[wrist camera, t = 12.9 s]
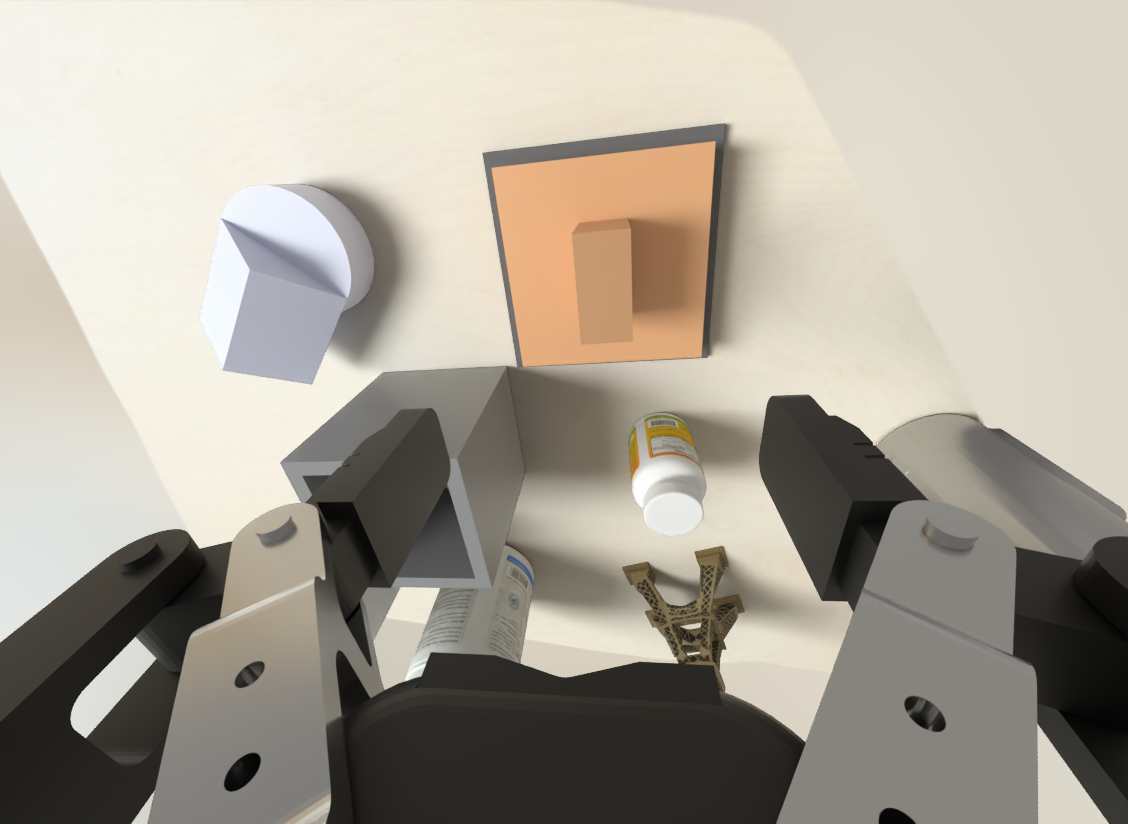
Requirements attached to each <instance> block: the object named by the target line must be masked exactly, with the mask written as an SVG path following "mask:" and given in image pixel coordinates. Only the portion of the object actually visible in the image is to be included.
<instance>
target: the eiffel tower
mask: <svg viewBox="0 0 1128 824" xmlns="http://www.w3.org/2000/svg"><path fill="white" fill-rule="evenodd" d="M695 555H696V558H697V561H698V564H699V566H700V597H699V598H698V599H696V600H695V601H693V602H691V603H689V604H687V605H685V606H675V605H670V604H668V603H666V602H665V601H664V600H663V598H662V597H661V595H660V594H659V592H658V591H657V589H656V588H655V586H654V585H653V583H655V578H654V576H653V574H652V571H651V569H650V567H649V565H648V563H647V562H644V563H639V564H635V565H630V566H625V567H623V571H624V573H625V575H626V577H627V579H628V580H629V582H630V584H631V585H634V586H635V588H636V590H637V591H639V592H640V593H641V594H642V595H643V596H644V597H645V599H646V600H647V602H648V603H649V605H650V606H651V608H652V609H653V610H650V611H645V613H646V615H647V617H648V619H649V621H650V623H651V625H652V627H657V629H658V631H659V632H660V633H661V634H662V635H663V636H664V638H665V639H666V641H667V643H668V644H669V646H670V648H671V651H672V653H673V655H674V657H676V658H677V661H678V664H695V665H714V668H715V673H716V678H717V683H718V688H719V691H721V692H724V693H725V685H724V682H723V679H722V676H721V674H720V672H719V671H720V657H721V652H722V649H723V650H727V649H726V646H725V643H724V639H725V637H726V636H727V634H728V632H729V631H730V629H731V628H732V626H733V625H734V623H735V621H736V620H737V617H738V613H742V612H744V609H743V606H742V603H741V600H740V597H739V595H734V596H729V597H723V598H717V599H713V595H714V593H715V590H716V588H717V586H718V584H719V581H720V579H721V577H722V575H723V570H724V569H725V568H724V567H725V566H728V563H727V560H726V557H725V554H724V552H723V549H722V546H720V547H715V548H710V549H705V550H701V551H696V552H695ZM713 600H714V604H715V607H716V610H715V612H714V609H713ZM696 623H701V627H700V628H697V629H691V630H689V629H684V628H682V627H680V626H683V625H689V624H696ZM693 652H700V654H695V655H688V656H687V653H693Z"/></svg>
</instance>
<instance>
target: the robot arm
mask: <svg viewBox="0 0 1128 824" xmlns="http://www.w3.org/2000/svg"><path fill="white" fill-rule="evenodd" d="M759 466H760V473H761V476H762V479H763V482H764V484H765V486H766V488H767V490H768V492H769V494H770V496H771V498H772V500H773V502H774V504H775V506H776V508H777V510H778V512H779V514H780V516H781V518H782V520H783V522H784V524H785V526H786V528H787V531H788V533H789V535H790V537H791V539H792V541H793V543H794V545H795V547H796V549H797V551H798V553H799V555H800V557H801V559H802V561H803V563H804V565H805V567H806V569H807V571H808V573H809V575H810V577H811V579H812V581H813V583H814V586H815V588H816V590H817V592H818V594H819V596H820V598H821V600H822V601H848V603H849V605H850V607H851V609H852V610H853V612H854V613H853V616H852V619H851V621H850V624H849V627H848V629H847V632H846V635H845V637H844V640H843V643H842V646H841V648H840V651H839V654H838V656H837V659H836V662H835V664H834V667H833V670H832V673H831V675H830V678H829V681H828V684H827V686H826V689H825V692H824V694H823V697H822V700H821V703H820V705H819V708H818V711H817V713H816V716H815V719H814V721H813V724H812V727H811V729H810V732H809V735H808V737H807V740H806V742H804V741H803V740H802V739H801V738H800V737H799V736H797V735H796V734H795V733H794V732H793V731H792V730H790V729H789V728H788V727H786V726H785V725H783V724H782V723H781V722H779V721H778V720H776V719H775V718H774V717H772V716H771V715H769V714H767V713H766V712H764V711H762V710H761V709H759V708H757V707H755V706H753V705H752V704H750V703H748V702H746V701H743V700H741V699H739V698H737V697H735V696H732V695H730V694H727V693H724V692H721V691H719V688H718V683H717V678H716V673H715V668H714V665H695V664H674V663H652V662H637V663H632V664H628V665H623V666H619V667H614V668H610V669H605V670H601V671H596V672H592V673H587V674H583V675H578V676H574V677H567V678H563V677H558V676H554V675H552V674H548V673H546V672H543V671H540V670H537V669H534V668H531V667H528V666H525V665H523V664H520V663H517V662H514V661H511V660H508V659H505V658H502V657H499V656H497V655H482V654H461V653H439V652H431V653H430V655H429V658H428V660H427V663H426V666H425V668H424V671H423V673H422V676H421V677H416V678H413V679H410V680H407V681H405V682H402V683H399V684H397V685H395V686H393V687H391V688H388V689H387V690H384V687H383V684H382V681H381V677H380V672H379V667H378V663H377V658H376V653H375V648H374V644H373V639H372V634H371V629H370V624H369V619H368V615H367V610H366V606H365V604H364V602H363V600H362V596H363V595H364V593H365V591H366V590H367V588H391V587H392V585H393V583H394V581H395V579H396V577H397V576H398V574H399V572H400V570H401V568H402V566H403V564H404V563H405V561H406V559H407V557H408V555H409V553H410V551H411V550H412V548H413V546H414V544H415V542H416V540H417V539H418V537H419V535H420V533H421V531H422V529H423V527H424V526H425V524H426V522H427V520H428V518H429V516H430V514H431V513H432V511H433V509H434V507H435V505H436V503H437V501H438V500H439V498H440V496H441V494H442V492H443V490H444V488H445V487H446V485H447V483H448V480H449V477H450V458H449V454H448V451H447V447H446V444H445V440H444V437H443V433H442V429H441V426H440V422H439V419H438V416H437V413H436V412H435V410H434V409H432V408H414V409H401V410H400V411H399V412H398V413H397V414H396V415H395V416H394V417H393V418H392V419H391V421H390V422H389V423H388V424H387V425H386V426H385V427H384V428H383V429H381V430H379V431H378V432H376V433H374V434H373V435H371V436H370V437H368V438H367V439H365V440H364V441H363V442H362V443H361V444H360V445H359V446H358V447H357V448H356V449H355V450H354V451H353V452H352V456H349V457H348V458H347V459H346V460H345V461H344V462H343V463H342V467H338V468H337V469H336V470H335V471H334V473H333V474H332V475H331V476H330V477H329V478H328V479H327V480H326V481H325V482H324V483H323V484H322V485H321V486H320V487H319V488H318V489H317V491H316V492H315V493H314V494H313V495H312V496H311V497H310V498H309V499H308V500H307V501H306V502H305V503H295V504H289V505H285V506H282V507H279V508H276V509H273V510H271V511H269V512H267V513H265V514H263V515H261V516H259V517H258V518H256V519H254V520H253V521H252V522H250V523H249V524H248V525H246V526H245V527H244V528H243V529H242V530H241V531H240V532H239V533H238V534H237V536H236V537H235V539H234V540H233V541H232V542H227V543H223V544H219V545H214V546H210V547H206V548H201V549H199V547H198V546H197V545H196V543H195V542H194V541H193V539H192V538H191V536H190V535H189V534H188V532H186V531H184V530H179V529H173V530H166V531H161V532H158V533H154V534H152V535H149V536H146V537H144V538H141V539H139V540H136V541H134V542H132V543H130V544H128V545H127V546H125V547H123V548H121V549H120V550H118V551H117V552H115V553H113V554H112V555H110V556H109V557H108V558H106V559H105V560H104V561H103V562H101V563H100V564H99V565H97V566H96V567H95V568H94V569H92V570H91V571H90V572H89V573H87V574H86V575H85V576H84V577H82V578H81V579H80V580H79V581H77V582H76V583H75V584H73V585H72V586H71V587H70V588H68V589H67V590H66V591H65V592H63V593H62V594H61V595H60V596H58V597H57V598H56V599H55V600H53V601H52V602H51V603H50V604H48V605H47V606H46V607H45V608H43V609H42V610H41V611H40V612H38V613H37V614H36V615H34V616H33V617H32V618H31V619H29V620H28V621H27V622H26V623H24V624H23V625H22V626H21V627H19V628H18V629H17V630H16V631H14V632H13V633H12V634H11V635H9V636H8V637H7V638H6V639H4V640H3V641H2V642H1V643H0V824H131V823H132V822H133V820H134V819H135V817H136V816H137V815H138V813H139V812H140V810H141V809H142V807H143V806H144V805H145V803H146V802H147V800H148V799H149V798H150V796H151V794H152V793H153V792H154V790H155V792H154V797H153V801H152V806H151V810H150V815H149V819H148V824H1038V764H1037V763H1038V760H1037V759H1038V756H1037V723H1038V725H1039V726H1040V728H1041V729H1042V730H1043V732H1044V733H1045V734H1046V736H1047V737H1048V739H1049V740H1050V742H1051V743H1052V744H1053V746H1054V747H1055V749H1056V750H1057V751H1058V753H1059V754H1060V756H1061V757H1062V758H1063V760H1064V761H1065V762H1066V764H1067V765H1068V767H1069V768H1070V770H1071V771H1072V772H1073V774H1074V775H1075V777H1076V778H1077V779H1078V781H1079V782H1080V784H1081V785H1082V786H1083V788H1084V789H1085V790H1086V792H1087V793H1088V795H1089V796H1090V797H1091V799H1092V800H1093V802H1094V803H1095V804H1096V806H1097V807H1098V809H1099V810H1100V811H1101V813H1102V814H1103V816H1104V817H1105V818H1106V819H1107V821H1108V823H1109V824H1128V523H1127V522H1126V521H1125V520H1126V513H1125V511H1124V510H1123V509H1122V508H1121V507H1120V506H1118V505H1117V504H1115V503H1114V502H1112V501H1111V500H1109V499H1108V498H1106V497H1104V496H1103V495H1101V494H1100V493H1098V492H1097V491H1095V490H1094V489H1092V488H1091V487H1089V486H1088V485H1086V484H1085V483H1083V482H1082V481H1080V480H1079V479H1077V478H1075V477H1074V476H1072V475H1071V474H1069V473H1068V472H1066V471H1065V470H1063V469H1062V468H1060V467H1059V466H1057V465H1056V464H1054V463H1053V462H1051V461H1049V460H1048V459H1046V458H1045V457H1043V456H1042V455H1040V454H1039V453H1037V452H1036V451H1034V450H1032V449H1031V448H1030V447H1028V446H1027V445H1025V444H1023V443H1022V442H1020V441H1019V440H1017V439H1016V438H1014V437H1013V436H1011V435H1010V434H1008V433H1007V432H1005V431H1004V430H1002V429H990V428H987V427H985V426H984V425H982V424H981V423H979V422H978V421H976V420H974V419H972V418H969V417H966V416H961V415H955V414H939V415H934V416H928V417H924V418H921V419H918V420H915V421H912V422H909V423H907V424H905V425H903V426H901V427H899V428H898V429H896V430H895V431H893V432H892V433H890V434H889V435H887V436H886V437H885V438H884V439H883V440H882V441H881V442H880V443H879V444H878V445H877V446H873V442H872V441H871V440H870V439H869V438H868V437H867V436H866V435H865V434H864V433H863V432H862V431H861V430H860V429H859V428H858V427H856V426H854V425H852V424H851V423H849V422H847V421H845V420H843V419H841V418H839V417H838V416H828V415H827V414H826V412H825V411H824V410H823V409H822V408H821V407H820V406H819V405H818V404H817V402H816V401H815V400H814V399H813V398H812V397H811V396H810V395H785V396H771V397H770V399H769V401H768V403H767V408H766V414H765V421H764V427H763V433H762V440H761V446H760V453H759ZM134 637H136V638H137V639H139V641H140V642H141V643H142V644H143V645H144V646H145V647H146V648H147V649H148V650H149V651H150V652H151V653H152V654H153V655H154V656H155V657H156V658H157V659H156V660H155V662H153V664H152V665H151V666H150V667H149V668H148V669H147V670H146V671H145V673H144V674H143V675H142V676H141V677H140V678H139V679H138V681H137V682H136V683H135V684H134V685H133V686H132V687H131V689H129V691H128V692H127V693H126V694H125V695H124V696H123V697H122V698H121V700H120V701H119V702H118V703H117V704H116V705H115V706H114V707H113V709H112V710H111V711H110V712H109V713H108V714H107V715H106V716H105V718H104V719H103V720H102V721H101V722H100V723H99V724H98V725H97V727H96V728H95V729H94V730H93V731H92V732H91V734H89V736H88V737H87V738H84V737H83V736H81V734H79V733H78V732H77V731H75V730H74V729H73V727H72V725H71V721H70V717H71V711H72V708H73V705H74V703H75V701H76V700H77V698H78V696H79V695H80V694H81V692H82V691H83V690H84V689H85V688H86V687H87V686H88V685H89V684H90V682H91V681H92V680H93V679H94V678H95V677H96V676H97V675H98V674H99V673H100V672H101V671H102V670H103V669H104V668H105V667H106V666H107V665H108V664H109V663H110V662H111V661H112V660H113V659H114V658H115V657H116V656H117V655H118V654H119V653H120V652H121V651H122V650H123V649H124V648H125V647H126V646H127V645H128V644H129V642H131V641H132V640H133V638H134Z"/></svg>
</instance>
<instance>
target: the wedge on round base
mask: <svg viewBox="0 0 1128 824" xmlns="http://www.w3.org/2000/svg"><path fill="white" fill-rule="evenodd" d="M374 266H375V265H374V256H373V251H372V247H371V244H370V241H369V239H368V237H367V235H366V232H365V230H364V229H363V227H362V225H361V224H360V222H359V221H358V219H357V218H356V217H355V215H354V214H353V213H352V212H351V211H350V210H349V209H348V208H347V207H346V206H345V205H344V204H343V203H342V202H341V201H339V200H338V199H337V198H335V197H334V196H332V195H331V194H329V193H327V192H325V191H323V190H321V189H319V188H316V187H313V186H309V185H303V184H282V185H258V186H252V187H248V188H245V189H243V190H241V191H239V192H238V193H236V194H235V195H234V196H233V197H232V198H231V199H230V200H229V202H228V203H227V205H226V207H225V208H224V211H223V214H222V217H221V221H220V226H219V230H218V235H217V240H216V244H215V249H214V253H213V258H212V263H211V267H210V272H209V276H208V281H207V286H206V290H205V295H204V299H203V304H202V309H201V313H200V318H199V320H200V322H201V324H202V326H203V329H204V331H205V333H206V335H207V337H208V339H209V342H210V344H211V346H212V348H213V350H214V353H215V355H216V357H217V359H218V361H219V363H220V366H221V368H222V370H223V371H229V372H236V373H242V374H248V375H255V376H261V377H267V378H274V379H280V380H286V381H293V382H299V383H305V384H313V381H314V379H315V376H316V374H317V371H318V369H319V366H320V364H321V362H322V359H323V357H324V354H325V352H326V349H327V347H328V345H329V342H330V340H331V337H332V335H333V332H334V330H335V328H336V325H337V323H338V320H339V318H340V315H341V313H342V312H343V311H345V310H347V309H349V308H351V307H353V306H355V305H356V304H358V303H359V302H360V301H361V300H363V299H364V297H365V296H366V295H367V293H368V291H369V290H370V288H371V285H372V282H373V277H374Z"/></svg>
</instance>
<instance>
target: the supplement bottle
mask: <svg viewBox="0 0 1128 824" xmlns="http://www.w3.org/2000/svg"><path fill="white" fill-rule="evenodd" d="M629 456H630V470H631V485H632V492H633V496H634V498H635V500H636V502H637V503H638V505H639V506H640V507H641V508H643V513H644V519H645V522H646V523H647V525H648V526H649V527H650V528H651V529H652V530H653V531H655V532H657V533H659V534H662V535H666V536H679V535H683V534H687V533H689V532H691V531H692V530H694V529H695V528H697V527H698V525H699V524H700V523H701V521H702V519H703V514H704V511H703V506H702V500H703V498H704V496H705V493H706V480H705V476H704V473H703V470H702V467H701V464H700V461H699V458H698V454H697V451H696V448H695V445H694V442H693V438H692V435H691V432H690V430H689V428H688V426H687V425H686V423H685V422H684V421H683V420H682V419H680V418H679V417H677V416H675V415H672V414H668V413H653V414H650V415H647V416H645V417H643V418H641V419H640V420H639V421H637V422H636V424H635V425H634V426H633V427H632V429H631V431H630V434H629Z"/></svg>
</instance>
